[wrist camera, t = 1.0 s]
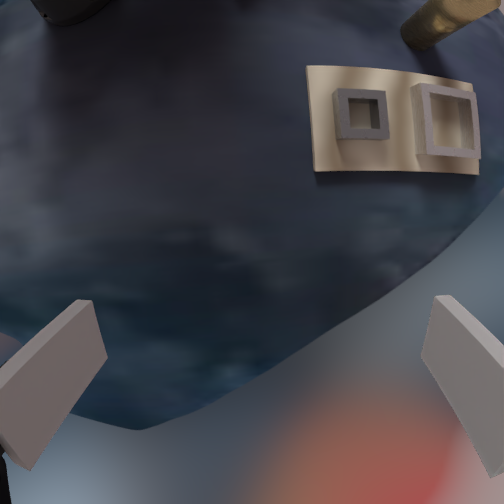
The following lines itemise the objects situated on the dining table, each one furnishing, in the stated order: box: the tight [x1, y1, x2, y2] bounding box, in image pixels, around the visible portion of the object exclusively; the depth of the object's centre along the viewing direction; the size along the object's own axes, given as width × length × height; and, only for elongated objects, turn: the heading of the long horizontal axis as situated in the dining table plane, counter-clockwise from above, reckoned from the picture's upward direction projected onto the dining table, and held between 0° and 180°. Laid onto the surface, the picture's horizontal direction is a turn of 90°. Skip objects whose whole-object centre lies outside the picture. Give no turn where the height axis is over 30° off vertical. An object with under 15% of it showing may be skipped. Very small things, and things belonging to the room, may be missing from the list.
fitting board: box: [305, 66, 481, 175], centre depth 29 cm, size 22×12×4 cm, turn 94°
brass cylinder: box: [400, 0, 501, 51], centre depth 20 cm, size 4×4×16 cm
